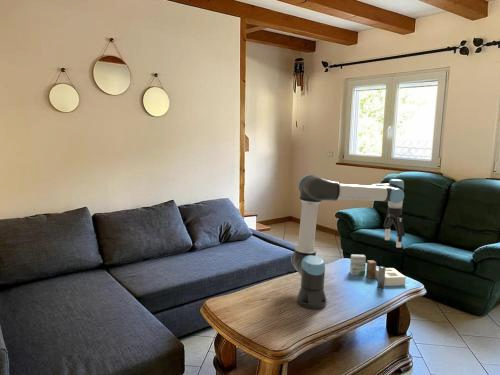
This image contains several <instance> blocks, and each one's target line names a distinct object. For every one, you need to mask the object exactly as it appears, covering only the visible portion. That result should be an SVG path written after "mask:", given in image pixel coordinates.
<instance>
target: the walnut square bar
mask: <svg viewBox="0 0 500 375" xmlns="http://www.w3.org/2000/svg"><path fill="white" fill-rule="evenodd" d="M376 268H377V262H376V261H375V260H374V259H372V260H371V259H370V260H367V259H366V269H365V276H366V277H367V279H376V277H375V274H376Z"/></svg>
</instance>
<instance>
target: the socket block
mask: <svg viewBox="0 0 500 375" xmlns="http://www.w3.org/2000/svg"><path fill="white" fill-rule="evenodd" d="M378 270H379V267H378V268H377V267H376V274H375V279H377V280H378ZM405 285H406V276H405V275H404V274H402V273H401V272H399V271H398V270H397V269H396V268H394V267H385V279H384V287H385V286H386V287H388V286H389V287H390V286H391V287H393V286H405Z"/></svg>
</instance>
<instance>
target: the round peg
mask: <svg viewBox="0 0 500 375" xmlns="http://www.w3.org/2000/svg"><path fill="white" fill-rule="evenodd" d="M378 268H379V270H378V279H377V284H376V288H377V289H379V288H380V290H383V289H385V285H384V279H385V268H386V266H382V265H381V266H378Z"/></svg>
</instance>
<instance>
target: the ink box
mask: <svg viewBox="0 0 500 375" xmlns="http://www.w3.org/2000/svg"><path fill="white" fill-rule="evenodd" d="M349 267H350V268H349V273H350V275H355V276H357V275H359V276H366V267H367V257H366V255H365V254H350V266H349Z"/></svg>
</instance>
